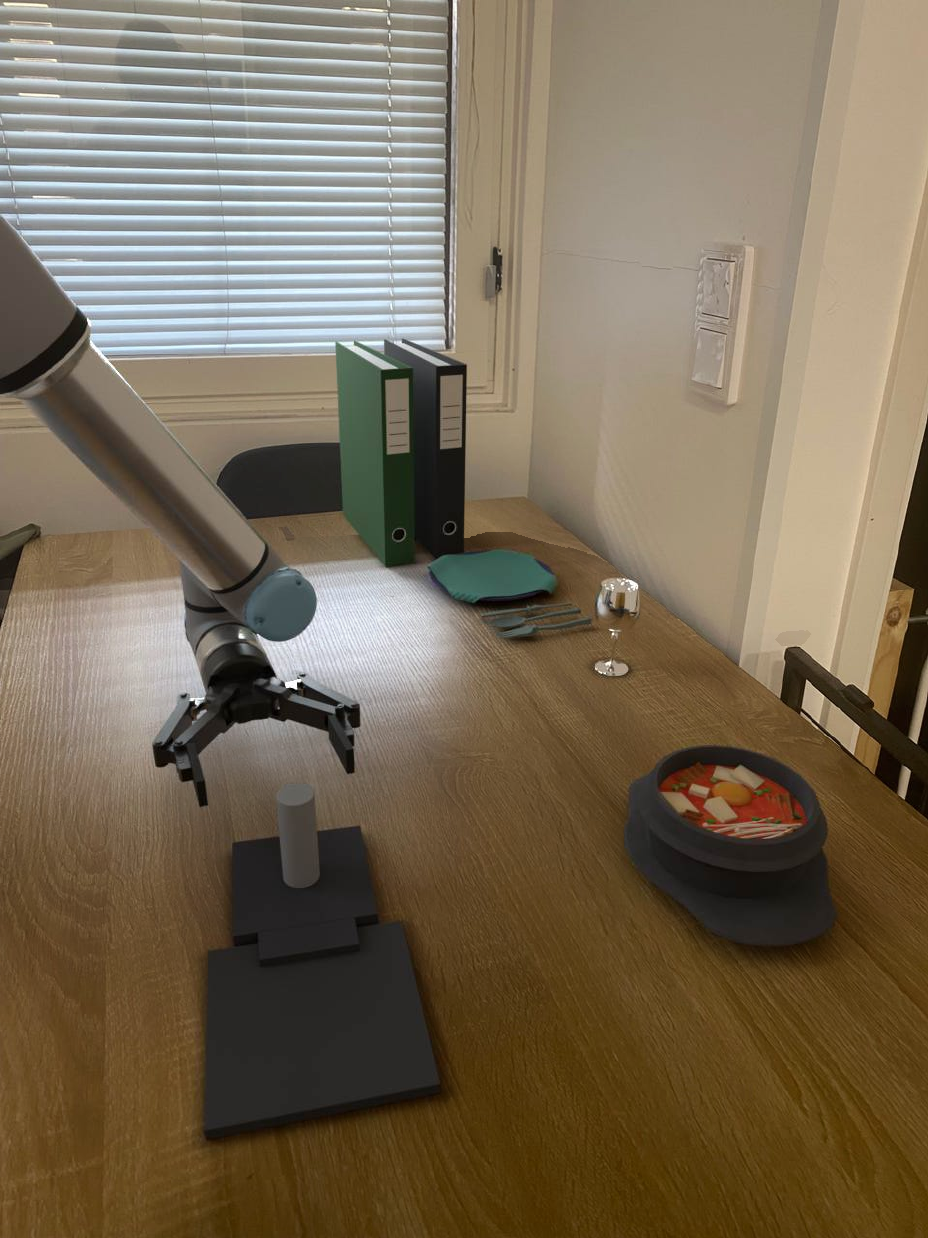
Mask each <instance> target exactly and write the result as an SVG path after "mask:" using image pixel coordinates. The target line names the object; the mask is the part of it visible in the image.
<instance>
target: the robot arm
mask: <svg viewBox="0 0 928 1238" xmlns="http://www.w3.org/2000/svg"><path fill="white" fill-rule="evenodd" d="M91 325H92V324H91V321H90V320H89V318H88V317H87V316H86V315H85V314H84V312H82V310H81V308H79V307H78V305H77V304H76V303H75V302H74V301H73V300H72V298H71V297H70V296H69V295H68V293H67V292H66V291H65V289H64V288H63V287H62V286H61V284H60V283H59V282H58V281H57V279H56V278H55V277H54V276H53V274H52V273H51V271H50V270H49V269H48V268H47V267H46V265H45V264H44V263H43V262H42V260H41V259H40V258H39V257H38V255H37V254H36V253H35V252H34V251H33V249H32V248H31V246H30V245H29V244H28V243H27V241H26V240H25V239H24V237H23V236H22V235H21V234H20V233H19V231H18V230H17V229H16V228H15V227H14V226H13V225H12V224H11V223H10V222H9V221H8V220H7V219H6V218H5V217H4V216H3V215H2V214H1V213H0V398H9V399H17V400H18V401H20V403H21V404H22V405H24V407H25V408H27V410H29V412H31V413H32V414H33V416H35V418H37V419H38V421H39V422H40V423H42V424H43V426H45V427H46V428H47V429H48V430H49V431H50V432H51V433H52V434H53V435H54V436H55V437H56V439H58V440H59V442H60V443H62V445H64V446H65V447H66V449H68V450H69V451H70V452H71V453H72V455H74V456H75V458H77V459H78V460H79V461H80V462H81V464H83V465H84V466H85V467H86V468H87V469H88V470H89V471H90V472H91V473H92V474H93V475H94V476H95V477H96V478H97V479H98V480H99V481H100V482H101V483H102V484H103V485H104V486H105V487H106V489H108V490H109V491H110V492H111V493H112V494H113V495H114V496H115V497H116V498H117V499H118V501H120V502H121V503H122V504H123V505H124V506H125V507H126V508H127V509H128V510H129V511H130V512H131V513H132V514H133V515H134V516H135V517H136V518H137V519H138V520H139V521H140V522H141V523H142V524H143V525H144V526H145V527H146V528H147V529H148V530H149V531H150V532H151V533H152V534H153V535H154V536H155V537H156V538H157V539H158V540H159V541H160V542H161V543H162V544H163V545H164V546H165V547H166V548H167V549H168V550H169V551H170V552H171V554H173V555H174V556H175V557H176V558H177V559H178V564H179V570H180V578H181V584H182V586H181V587H182V591H183V593H182V594H183V600H184V601H183V604H184V605H183V606H184V610H185V611H184V619H183V621H184V622H183V625H184V629H185V632H184V634H185V638H186V640H187V642H188V643H189V646H190V647H191V650H192V653H193V656H194V659H195V662H196V665H197V669H198V672H199V675H200V678H201V682H202V685H203V689H204V692H205V695H204V697H197V698H191V696H190V693H188V692H181V693H179V694H178V695H177V696H176V697H177V698H176V699H177V705H176V706H175V708H174V709H173V711H172V712H171V714H170V716H169V717H168V718H167V720H166V722H164V723H163V726H162V727H161V729H160V730H159V732H158V733H157V735H156V736H155V738H154V739H153V741H152V743H151V747H152V752H153V759H154V765H155V767H156V768H158V769H159V768H160V769H161V768H165V767H167V766H168V765H169V764H173V765H175V770H176V774H178V778H179V781H180V782H181V783H186V782H191V781H192V783H193V787H194V790H195V795H196V798H197V799H196V800H197V802H198V806H199V808H203V807H207V806H209V801H208V800H209V799H208V793H207V786H206V779H205V775H204V771H203V768H202V765H201V761H200V758H199V755H200V754H201V753H202V752H203V751H204V750H205V749H206V748H207V747H208V746H209V745H210V744H211V743H212V742H213V741H214V740H215V739H216V738H217V737H218V736H219V735H220V734H226V733H227V732H228V731H229V730H230V729H231V728H232V727H233V726H234V725H236V724H238V725H243V724H246V723H250V722H252V721H262V720H267V719H272V720H276V721H279V722H282V723H284V722H286V721H287V720H288V721H292V722H295V723H299V724H302V725H305V726H307V727H311V728H313V729H317V730H320V731H324V732H326V733H328V740H329V742H330V744H331V746H332V748H333V750H334V752H335V754H336V756H337V757H338V760H339V761H340V763H341V764H342V767H343V769H344V771H345V773H346V775H351V774H355V773H356V767H355V748H354V747H355V745H356V742H355V730H354V729H358V728H360V727H361V722H362V721H361V704H360V703H359V702H358V701H356V700H354V699H352V698H350V697H347V696H346V695H344V694H342V693H340V692H338V691H336V690H334V689H332V688H330V687H328V686H326V685H324V684H322V683H320V682H318V681H316V680H314V679H313V678H312V676H311V675H310V673H308V672H306V671H301V672H298V673H297V674H296V678H297V679H296V680H292V681H288V682H284V681H285V680H282V679H280V678H278V676H277V674H276V671H275V670H274V667H273V664H272V663H271V661H270V659H269V657H268V655H267V653H266V650H265V648H264V646H263V645H262V642H261V640H260V639H259V636H260V637H261V638H263V639H265V640H266V641H270V642H274V643H275V642H276V643H281V642H282V643H283V642H287V641H291V640H292V639H295V638H297V637H299V635H302V633H303V632H304V631H306V629H307V628H308V627H309V626H310V624H311V623H312V621H313V619H314V617H315V615H316V612H317V607H318V597H317V593H316V590H315V588H314V586H313V585H312V583H311V582H310V581H309V579H307V578H305V577H304V576H303V575H302V572H300V571H299V570H297V569H295V568H293V567H290V566H289V565H288V564H287V563H286V562H285V561H284V560H283V559H282V558H281V557H280V555H279V554H278V553H277V552H276V551H275V550H274V549H273V548H272V546H271V545H270V544H269V543H268V542H267V541H266V539H264V538H263V536H262V535H261V534H260V532H259V531H258V530H257V529H256V528H255V527H254V526H253V524H251V522H250V521H249V520H248V519H247V517H246V516H245V515H244V514H243V513H242V511H241V510H240V509H239V508H238V507H237V506H236V505H235V504H234V502H233V501H232V500H231V499H230V498H229V497H228V496H227V495H226V494H225V493H224V492H223V490H222V489H221V488H220V487H219V485H218V484H217V483H216V482H215V481H214V480H213V479H212V477H210V475H209V474H208V473H207V472H206V471H205V470H204V469H203V467H202V466H201V465H200V464H199V463H198V462H197V461H196V460H195V458H194V457H193V456H192V455H191V454H190V453H189V451H188V450H187V449H186V448H185V447H184V446H183V445H182V443H180V441H179V440H178V439H177V438H176V437H175V435H174V434H173V433H172V432H171V431H170V429H168V428H167V426H166V425H165V424H164V423H163V422H162V421H161V419H160V418H159V417H158V416H157V415H156V414H155V412H153V410H152V409H151V408H150V407H149V405H148V404H146V402H145V401H144V400H143V399H142V398H141V397H140V396H139V395H138V393H137V392H136V391H135V390H134V389H133V388H132V386H131V385H130V384H129V383H128V382H127V381H126V380H125V378H124V377H123V376H122V375H121V373H119V372H118V370H116V368H115V367H114V366H113V365H112V364H111V363H110V361H109V360H108V358H106V356H105V355H104V354H102V352H101V351H100V349H98V347H97V346H96V345H95V344H94V343H93V342H92V341H91V328H92V326H91ZM202 711H205V712H204V713H203V714H202V715H200V714H201V712H202ZM199 715H200V717H199V718H198V716H199Z"/></svg>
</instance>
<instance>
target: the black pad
mask: <svg viewBox="0 0 928 1238" xmlns="http://www.w3.org/2000/svg"><path fill="white" fill-rule="evenodd" d="M357 933H358V939H359V947H360V950H359V951H354V952H348V953H342V954H336V955H330V956H324V957H318V958H311V959H305V960H299V961H293V962H287V963H281V964H275V965H268V966H262V967H260V964H259V947H258V943H255V944H248V945H242V946H236V947H234V946H230V947H224V948H217V949H210V950H208V951H207V977H206V978H207V980H206V1019H205V1020H206V1021H205V1025H206V1026H205V1067H204V1068H205V1069H204V1108H203V1109H204V1110H203V1112H204V1113H203V1114H204V1115H203V1133H204V1139H205V1140H206V1141H209V1140H214V1139H219V1138H224V1137H228V1136H233V1135H238V1134H243V1133H249V1132H253V1131H258V1130H264V1129H268V1128H273V1127H278V1126H283V1125H288V1124H293V1123H298V1122H302V1121H307V1120H308V1121H309V1120H313V1119H318V1118H323V1117H328V1116H333V1115H338V1114H343V1113H348V1112H352V1111H353V1112H354V1111H357V1110H358V1111H359V1110H364V1109H368V1108H372V1107H377V1106H382V1105H387V1104H393V1103H397V1102H403V1101H408V1100H413V1099H417V1098H422V1097H427V1096H432V1095H438V1094H441V1081H440V1076H439V1071H438V1067H437V1063H436V1058H435V1055H434V1052H433V1051H434V1050H433V1046H432V1043H431V1042H432V1041H431V1038H430V1034H429V1030H428V1025H427V1020H426V1017H425V1013H424V1008H423V1004H422V999H421V995H420V992H419V987H418V984H417V978H416V974H415V971H414V967H413V961H412V958H411V953H410V949H409V945H408V940H407V936H406V933H405V929H404V923H403V921H402V920H401V919H400V920H394V921H388V922H383V923H379V924H375V925H369V926H362V927H357Z"/></svg>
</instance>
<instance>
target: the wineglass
mask: <svg viewBox="0 0 928 1238" xmlns="http://www.w3.org/2000/svg"><path fill="white" fill-rule="evenodd" d="M594 615H595V616H594V617H595V620H596V622H597V624H598V625H599V626H600V627H601V628H602V629H604V630H606V631H608V632H611V634H610V643H611V650H610V658H609V659H608V658H607V659H601V660H598V661H596V662H595V664H594V670H595V671H596V672H597V673H599V674H601V675H603V676H608V677H621V676H624V675H626V674H627V673H628V672H629V666H628V665H627V664H626V663H624V662H623V661H620V660H617V659H615V656H616V655H615V653H616V646H617V643H618V641H619V633H623V632H627V631H630V630H631V629H633V628H634V627H635V626H636V625H637V623H638V621H639V619H640V615H641V595H640V589H639V585H638V583H637V582H635V581H634V580H631V579H628V578H623V577H612V578H606V579H604V580H602V582H601V584H600V585H599V588H598V592H597V594H596V598H595V603H594Z"/></svg>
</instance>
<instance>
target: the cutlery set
mask: <svg viewBox="0 0 928 1238" xmlns="http://www.w3.org/2000/svg"><path fill="white" fill-rule="evenodd" d="M427 568H428V570H429V571H428V575H429V579H430V581H431V583H432V584H433V585H435V586H436V587H437V588H438V589H440V590H441V591H442V592H443V591H444V592H446V593H448V594H450V596H451V597H452V598H453V599H455V600H459V601H464V602H468V603H471V604H474V603H475V602H477V601H487V602H503V601H505V602H506V601H508V602H509V601H516V600H521V599H525V598H526V599H527V598H531V597H533V596H535V595H537V594H540V593H542V592H544V591H548V592H549V595H551V594H552V593H553V592H554V591H555V590H556V589H557V586H558V580H557V577H556V576H555V573H554V571H553V570H552V569H551V567H550V565H548V564H546V563H544V562H543V561H541V560H540V559H537V558H535V557H533V556H532V555H531V554H529V553H527V554H526V553H524V552H520V551H514V550H509V549H501V548H496V549H493V550H492V549H490V550H489V549H486V550H484V549H483V550H469V551H464V552H463V553H458V554H453V555H443V556H441V557H440V558H438V559H435V560H434V561H432V562H431V563H429V565H427ZM568 606H570V607H571V608H568V609H563V610H558V611H552V612H548V613H545V614H544V613H543V614H540V615H536V616H532V617H528V618H526V617H523V616H517V615H515V614H520V613H528V615H531V613H532V612H540V611H542V610H543V609H550V608H555V607H556V608H557V607H568ZM572 607H573V603H572V602H571V601H568V602H563V603H558V604H546V605H540V604H533V605H531V606H530V605H528V604H526V607H523V608H509V609H503V610H495V611H488V612H484V613H482V614H481V616H480V618H481V619H484V618H492V617H495V618H492V619H491V620H488V621H487V624H488V625H489V626H490V627H492V628H497V629H504V630H506V629H508V630H507V631H501V632H495V635H496V636H497V637H498V639H512V638H521V637H522V638H523V637H531V636H534V635H536V634H537V633H538V632H539V631H557V630H564V629H569V628H574V627H577V626H590V625H592V620H593V619H592V617H589V616H587V617H583V618H578V619H573V620H570V621H565V622H561V623H555V624H546V625H545V624H544V625H536V624H535V623H534V624H532V625H529V624H526V625H524V626H522V625H523V624H524V623H528V622H533V621H536V620H537V621H538V620H542V619H547V618H552V617H561V616H568V615H570V616H571V615H581V614H582V609H581V608H580V607H573V608H572ZM513 614H514V615H513ZM506 615H507V616H506ZM497 616H498V617H497ZM520 626H522V627H520ZM509 629H511V630H509Z"/></svg>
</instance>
